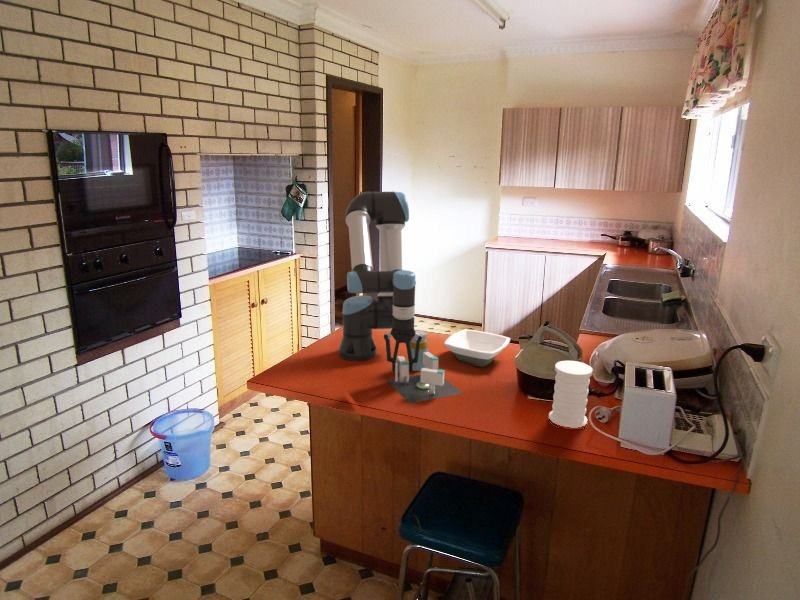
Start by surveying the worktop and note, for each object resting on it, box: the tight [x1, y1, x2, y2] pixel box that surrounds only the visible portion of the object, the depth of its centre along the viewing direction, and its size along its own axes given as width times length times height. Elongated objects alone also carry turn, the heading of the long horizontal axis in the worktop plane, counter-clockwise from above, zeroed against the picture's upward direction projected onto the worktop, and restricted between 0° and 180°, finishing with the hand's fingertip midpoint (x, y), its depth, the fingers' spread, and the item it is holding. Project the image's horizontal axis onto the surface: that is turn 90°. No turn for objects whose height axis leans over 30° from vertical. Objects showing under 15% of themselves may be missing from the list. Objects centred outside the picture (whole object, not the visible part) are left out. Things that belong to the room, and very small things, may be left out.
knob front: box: [420, 368, 445, 394], centre depth 185 cm, size 8×2×8 cm, turn 71°
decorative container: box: [548, 360, 594, 428], centre depth 170 cm, size 12×12×18 cm
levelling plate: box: [386, 374, 463, 404], centre depth 192 cm, size 19×20×2 cm
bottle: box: [407, 329, 429, 372], centre depth 206 cm, size 7×7×15 cm
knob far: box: [423, 351, 440, 370], centre depth 198 cm, size 8×2×8 cm, turn 25°
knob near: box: [396, 355, 408, 383], centre depth 193 cm, size 8×2×8 cm, turn 12°
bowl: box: [443, 328, 511, 368], centre depth 217 cm, size 22×23×8 cm
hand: (402, 380), depth 194 cm, fingers closed on knob near, 3 cm apart
